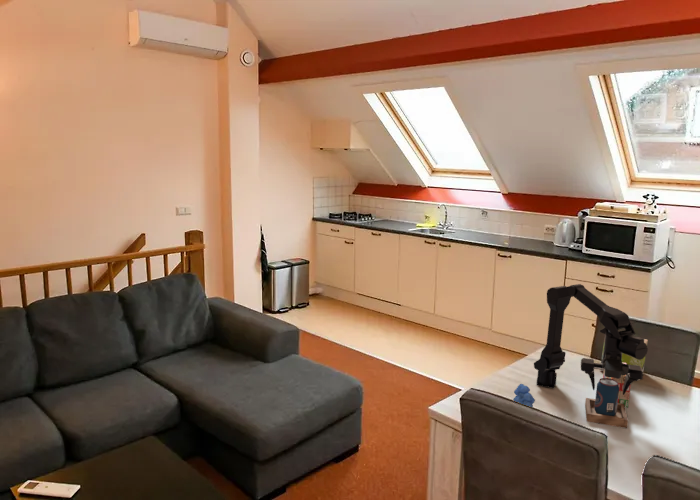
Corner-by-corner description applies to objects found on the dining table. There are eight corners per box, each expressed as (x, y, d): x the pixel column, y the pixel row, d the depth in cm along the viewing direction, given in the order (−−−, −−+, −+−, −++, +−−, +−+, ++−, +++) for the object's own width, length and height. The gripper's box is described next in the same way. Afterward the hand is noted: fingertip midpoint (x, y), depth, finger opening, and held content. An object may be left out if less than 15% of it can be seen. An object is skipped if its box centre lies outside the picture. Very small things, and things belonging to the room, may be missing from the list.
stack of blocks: (602, 380, 215) (605, 351, 213) (619, 383, 213) (623, 353, 211) (609, 405, 195) (612, 373, 193) (628, 408, 194) (632, 375, 191)
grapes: (541, 425, 181) (544, 391, 179) (521, 425, 180) (524, 392, 178) (526, 408, 192) (529, 376, 190) (508, 408, 192) (510, 377, 189)
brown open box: (586, 421, 184) (587, 413, 183) (585, 404, 195) (585, 397, 195) (627, 428, 180) (628, 420, 179) (623, 411, 191) (624, 404, 190)
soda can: (591, 408, 191) (594, 376, 189) (611, 409, 190) (615, 377, 188) (598, 418, 184) (601, 385, 182) (619, 419, 184) (623, 386, 181)
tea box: (599, 371, 224) (603, 337, 221) (604, 363, 232) (608, 330, 229) (640, 381, 215) (645, 346, 212) (643, 372, 223) (648, 338, 220)
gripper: (583, 353, 178) (579, 397, 181) (647, 361, 172) (642, 407, 175) (582, 341, 188) (578, 383, 192) (643, 349, 182) (637, 392, 185)
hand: (608, 391), depth 185 cm, fingers open, 9 cm apart
